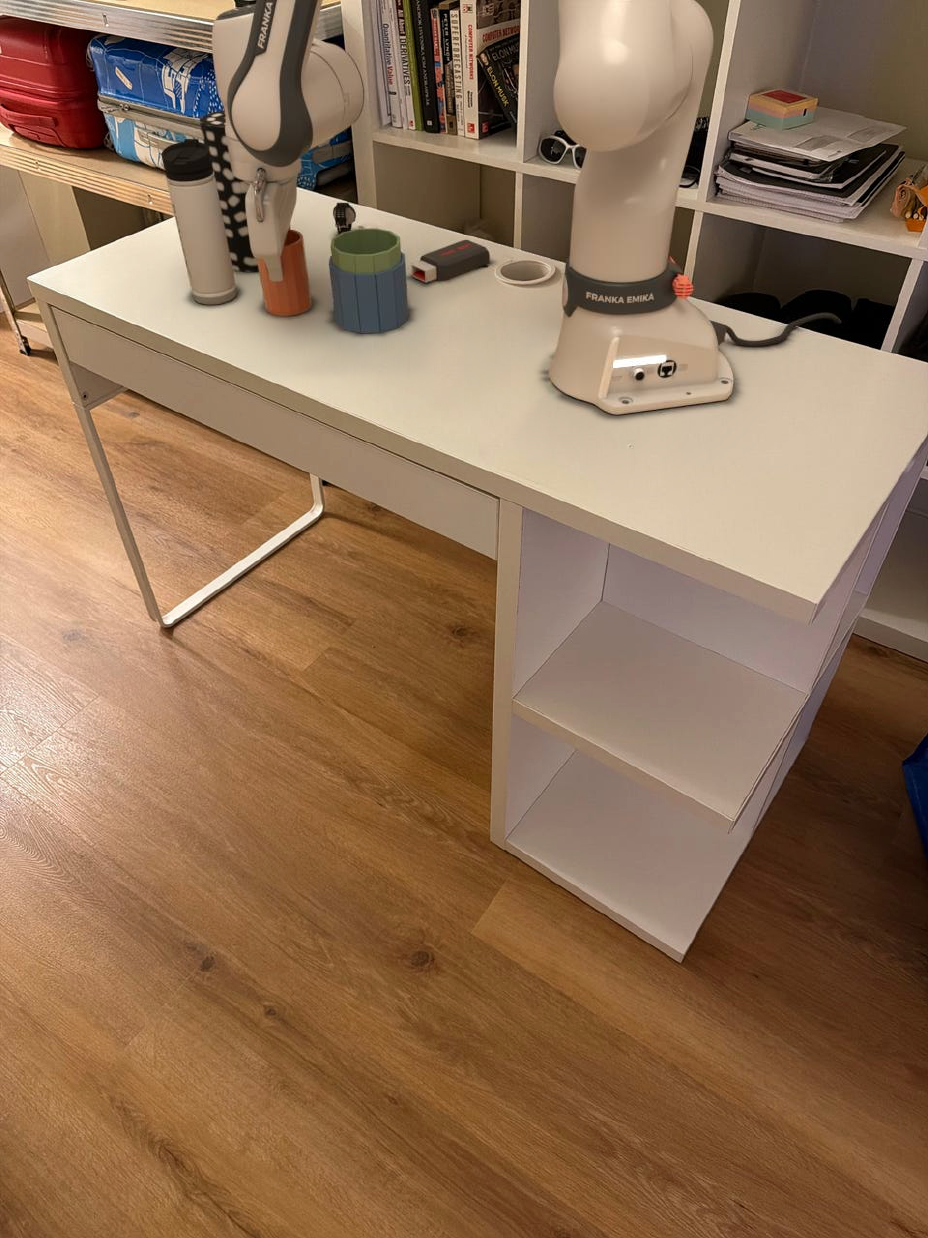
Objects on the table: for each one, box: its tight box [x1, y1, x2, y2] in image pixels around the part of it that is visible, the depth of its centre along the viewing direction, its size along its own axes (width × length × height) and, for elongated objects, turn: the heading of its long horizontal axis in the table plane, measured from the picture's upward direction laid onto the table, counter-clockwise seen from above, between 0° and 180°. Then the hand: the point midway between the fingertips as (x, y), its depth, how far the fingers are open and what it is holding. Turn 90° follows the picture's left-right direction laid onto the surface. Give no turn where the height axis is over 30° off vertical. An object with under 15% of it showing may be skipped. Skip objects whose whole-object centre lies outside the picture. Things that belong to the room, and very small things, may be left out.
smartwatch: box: [332, 202, 357, 235], centre depth 145 cm, size 4×5×5 cm
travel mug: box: [160, 138, 238, 306], centre depth 124 cm, size 6×7×20 cm
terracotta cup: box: [257, 229, 313, 317], centre depth 125 cm, size 6×6×10 cm
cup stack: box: [328, 227, 409, 334], centre depth 122 cm, size 10×10×10 cm
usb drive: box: [410, 239, 491, 284], centre depth 136 cm, size 5×12×3 cm, turn 132°
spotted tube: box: [199, 109, 259, 273], centre depth 133 cm, size 8×8×20 cm
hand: (281, 264), depth 125 cm, fingers open, 8 cm apart
